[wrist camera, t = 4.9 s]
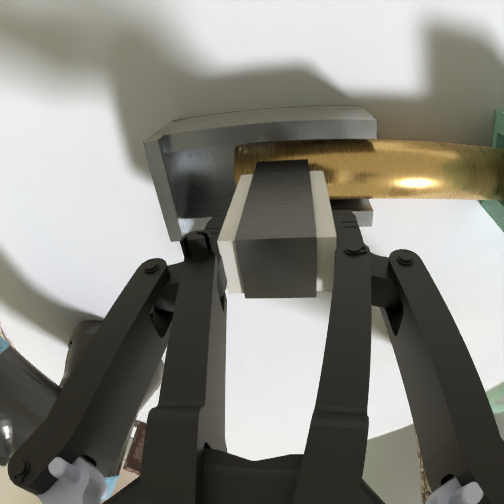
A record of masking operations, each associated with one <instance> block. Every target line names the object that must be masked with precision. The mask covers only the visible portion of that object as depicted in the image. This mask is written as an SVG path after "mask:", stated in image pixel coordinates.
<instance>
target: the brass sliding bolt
mask: <svg viewBox="0 0 504 504" xmlns="http://www.w3.org/2000/svg"><path fill="white" fill-rule="evenodd" d="M310 171H323V173H324V177H325V182H326V186H327V191H328V196H329V200H331V199H467V200H495V201H504V149H500V148H493V147H485V146H476V145H466V144H456V143H444V142H430V141H412V140H384V139H326V140H297V141H279V142H264V143H251V144H239V145H237V146H236V148H235V152H234V177H235V185H236V188H237V185H238V182H239V180H240V177H241V175H248V174H253V177H252V180H251V184H250V187H249V191H248V194H247V198H246V201H245V205H244V208H243V212H242V215H241V219H240V222H239V226H238V229H237V233H236V236H235V245H236V251H237V256H238V261H239V267H240V272H241V278H242V283H243V288H244V294H245V298H304V297H316V286H317V236H316V226H315V216H314V206H313V197H312V188H311V180H310Z"/></svg>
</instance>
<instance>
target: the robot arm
mask: <svg viewBox="0 0 504 504" xmlns="http://www.w3.org/2000/svg"><path fill="white" fill-rule="evenodd" d="M252 177H253V174H248V175H241V177H240V180H239V182H238V185H237V188H236V190H235V193H234V196H233V199H232V201H231V204H230V207H229V210H228V212H227V215H226V216H218V217H213V218H212V219H211V220H209V221H208V222H207V224H206V226H205V230H196V231H192V232H190V233H187V234H185V235H184V236H183V237H182V238H181V240H180V244H181V247H182V251H183V254H184V257H185V258H184V261H183V262H180V263H177V264H173V265H169V266H167V264H166V261H165V260H163V259H160V258H154V259H150V260H147V261H146V262H144V263H142V264H141V265H140V266H139V267H138V269H137V270H136V272H135V273H134V275H133V276H132V278H131V279H130V281H129V282H128V283H127V285H126V286H125V288H124V289H123V291H122V292H121V294H120V295H119V297H118V298H117V300H116V301H115V303H114V304H113V306H112V308H111V309H110V311H109V312H108V314H107V315H106V317H105V318H104V320H103V321H102V322H99V321H85V322H82V323H80V324H78V325H77V326H76V328H75V330H74V331H73V333H72V335H71V337H70V339H69V344H68V347H69V350H68V353H67V358H66V364H65V371H64V376H63V378H62V380H61V383H60V385H59V386H58V385H57V384H56V383H54V382H53V381H52V380H50V379H49V378H48V377H47V376H45V375H44V374H43V373H42V372H41V371H39V370H38V369H37V368H36V367H35V366H33V365H32V364H31V363H30V362H29V361H28V360H26V359H25V358H24V357H23V356H22V355H21V354H20V353H19V352H18V351H16V350H15V349H14V348H13V347H12V346H11V345H10V344H11V343H10V342H9V341H7V340H5V339H3V338H2V337H1V336H0V468H5V467H6V465H7V463H8V461H9V463H8V474H9V477H10V479H11V481H12V482H13V483H14V484H15V485H17V486H18V487H20V488H22V489H24V490H26V491H28V492H31V493H33V494H35V495H36V496H37V497H38V498H39V499H40V500H41V502H42V503H43V504H100V500H106V499H107V498H109V497H110V496H111V494H112V492H113V489H114V487H115V484H116V482H117V479H119V477H120V474H119V473H120V469H121V466H122V462H123V459H124V456H125V452H126V449H127V446H128V443H129V440H130V436H131V433H132V430H133V427H134V424H135V421H136V418H137V415H138V413H139V411H140V410H141V409H142V407H143V406H144V405H145V404H146V402H147V401H148V400H149V399H150V397H151V396H152V395H153V393H154V392H155V391H156V390H157V389H158V387H159V386H160V384H161V389H160V396H159V402H158V405H157V407H155V408H152V409H151V410H150V412H149V414H148V418H147V424H146V431H145V438H144V446H143V454H142V462H141V471H140V476H139V477H138V478H137V479H135V480H134V481H132V482H131V483H130V484H128V485H127V486H126V487H124V488H123V489H122V490H120V491H119V492H118V493H116V494H115V495H114V496H112V497H111V498H109V499H108V500H106V501H105V502H104V503H102V504H385V503H384V502H383V501H382V500H381V499H380V498H379V496H378V495H377V494H376V493H375V492H374V491H373V490H372V489H371V488H370V487H369V486H368V485H367V483H366V482H365V481H364V480H363V479H362V475H363V468H364V461H365V454H366V445H367V437H368V427H369V417H368V416H367V405H368V392H369V377H370V357H371V305H374V306H378V307H380V309H381V312H382V315H383V318H384V321H385V324H386V327H387V330H388V334H389V337H390V340H391V343H392V346H393V349H394V353H395V356H396V359H397V363H398V366H399V369H400V373H401V376H402V380H403V383H404V387H405V391H406V394H407V398H408V402H409V406H410V410H411V414H412V418H413V422H414V426H415V430H416V435H417V439H418V444H419V448H420V453H421V458H422V463H423V467H424V471H425V475H426V479H427V481H428V484H429V486H430V489H431V491H432V494H431V495H430V496H429V497H428V499H427V500H426V503H425V504H504V441H503V440H502V438H501V437H500V434H499V430H498V427H497V424H496V422H495V418H494V415H493V412H492V409H491V406H490V404H489V401H488V398H487V396H486V393H485V390H484V388H483V385H482V382H481V380H480V377H479V375H478V373H477V370H476V368H475V365H474V363H473V361H472V358H471V356H470V354H469V351H468V349H467V347H466V345H465V343H464V340H463V338H462V336H461V334H460V332H459V330H458V328H457V326H456V323H455V321H454V319H453V317H452V315H451V313H450V311H449V309H448V307H447V305H446V304H445V302H444V300H443V298H442V296H441V294H440V292H439V290H438V288H437V287H436V285H435V283H434V281H433V279H432V277H431V276H430V274H429V272H428V270H427V269H426V267H425V265H424V263H423V262H422V260H421V258H420V257H419V256H418V255H417V254H416V253H414V252H412V251H409V250H406V249H399V250H395V251H393V252H392V253H391V254H390V256H389V258H388V257H382V256H378V255H375V254H373V253H371V252H370V250H369V247H368V246H366V245H365V244H364V242H363V239H362V235H361V232H360V229H359V225H358V223H357V219H356V216H355V214H353V213H352V212H351V211H350V210H331V205H330V200H329V196H328V191H327V186H326V182H325V177H324V173H323V171H310V180H311V188H312V197H313V206H314V216H315V226H316V236H317V286H316V291H333V292H332V301H331V309H330V317H329V324H328V331H327V338H326V345H325V352H324V358H323V364H322V371H321V376H320V382H319V388H318V394H317V399H316V404H315V409H314V412H313V415H312V420H311V424H310V429H309V434H308V438H307V443H306V447H305V452H304V454H290V455H285V456H280V457H275V458H270V459H265V460H259V461H251V460H247V459H244V458H241V457H238V456H235V455H232V454H229V453H227V448H226V443H225V363H226V315H227V298H226V294H225V289H226V286H227V287H228V291H229V293H244V288H243V283H242V278H241V272H240V267H239V261H238V256H237V251H236V245H235V236H236V233H237V229H238V226H239V222H240V219H241V215H242V212H243V208H244V205H245V201H246V198H247V194H248V191H249V187H250V184H251V180H252ZM167 345H168V346H167ZM166 347H167V352H166V358H165V364H163V362H162V360H161V358H162V356H163V353H164V351H165V349H166ZM161 381H162V383H161ZM11 455H12V456H11ZM10 457H11V458H10Z"/></svg>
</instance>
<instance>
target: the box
mask: <svg viewBox="0 0 504 504" xmlns="http://www.w3.org/2000/svg"><path fill="white" fill-rule="evenodd" d="M145 431H146V424H145V423H141V424H140V425H139V426H138V427H137V429H136V432H135V435H134V438H133V441H132V444H131V447H130V450H129V453H128V455H127V458H126V461H125V464H124V467H123V469H125V470H127V471H129V472H132V473H134V474H137V475H140V471H141V462H142V454H143V446H144V438H145Z"/></svg>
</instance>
